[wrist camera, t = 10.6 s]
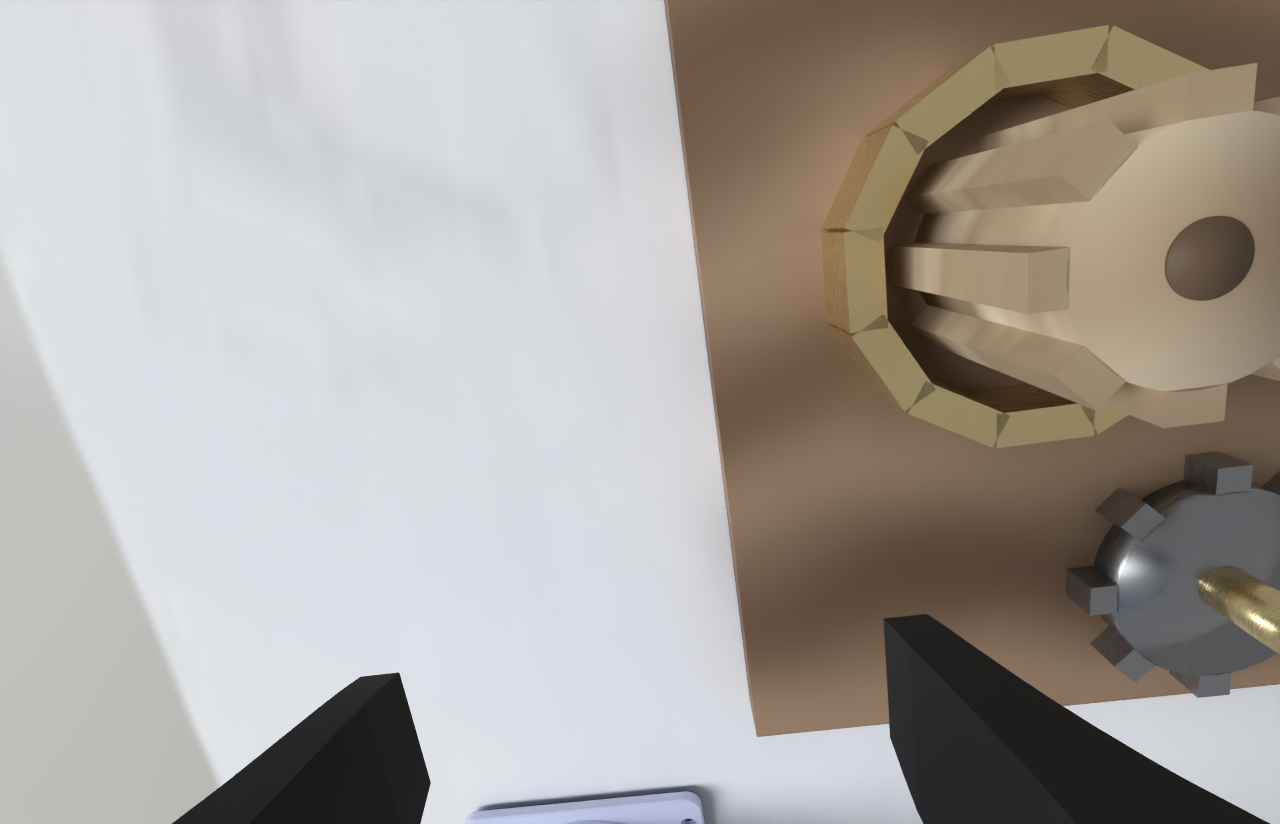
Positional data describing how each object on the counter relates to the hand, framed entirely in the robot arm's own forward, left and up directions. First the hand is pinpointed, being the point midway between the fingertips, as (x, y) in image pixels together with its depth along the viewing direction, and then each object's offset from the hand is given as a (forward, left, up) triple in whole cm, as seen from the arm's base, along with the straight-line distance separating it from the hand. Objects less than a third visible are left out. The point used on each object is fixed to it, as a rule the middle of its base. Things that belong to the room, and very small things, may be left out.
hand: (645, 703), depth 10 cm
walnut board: (+2, -10, -9) cm, 14 cm away
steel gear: (-4, -14, -8) cm, 17 cm away
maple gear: (+5, -9, -8) cm, 13 cm away
